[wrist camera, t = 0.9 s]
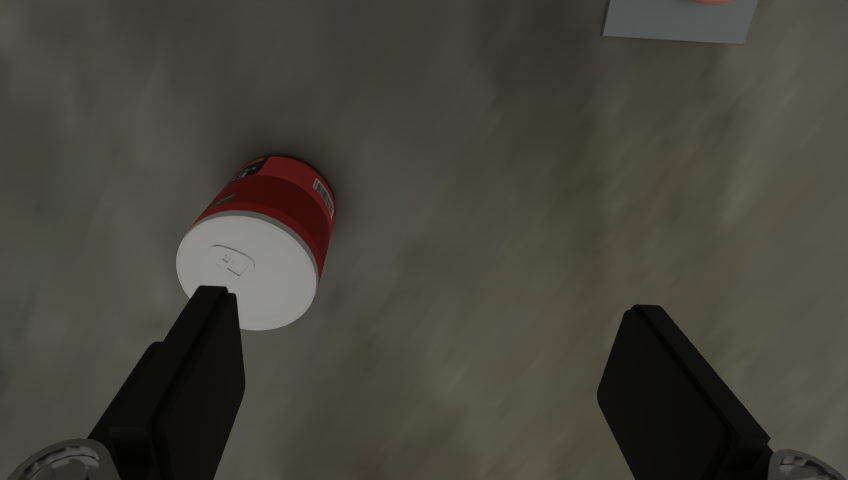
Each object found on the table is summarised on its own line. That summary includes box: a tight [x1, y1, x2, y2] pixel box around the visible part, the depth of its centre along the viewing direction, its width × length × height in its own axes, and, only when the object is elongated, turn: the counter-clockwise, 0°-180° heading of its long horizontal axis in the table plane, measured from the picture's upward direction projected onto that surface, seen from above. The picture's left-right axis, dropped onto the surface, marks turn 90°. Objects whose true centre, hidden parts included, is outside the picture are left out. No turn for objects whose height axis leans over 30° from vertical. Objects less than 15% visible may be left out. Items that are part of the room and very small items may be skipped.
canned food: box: [176, 156, 335, 330], centre depth 33 cm, size 8×8×11 cm
